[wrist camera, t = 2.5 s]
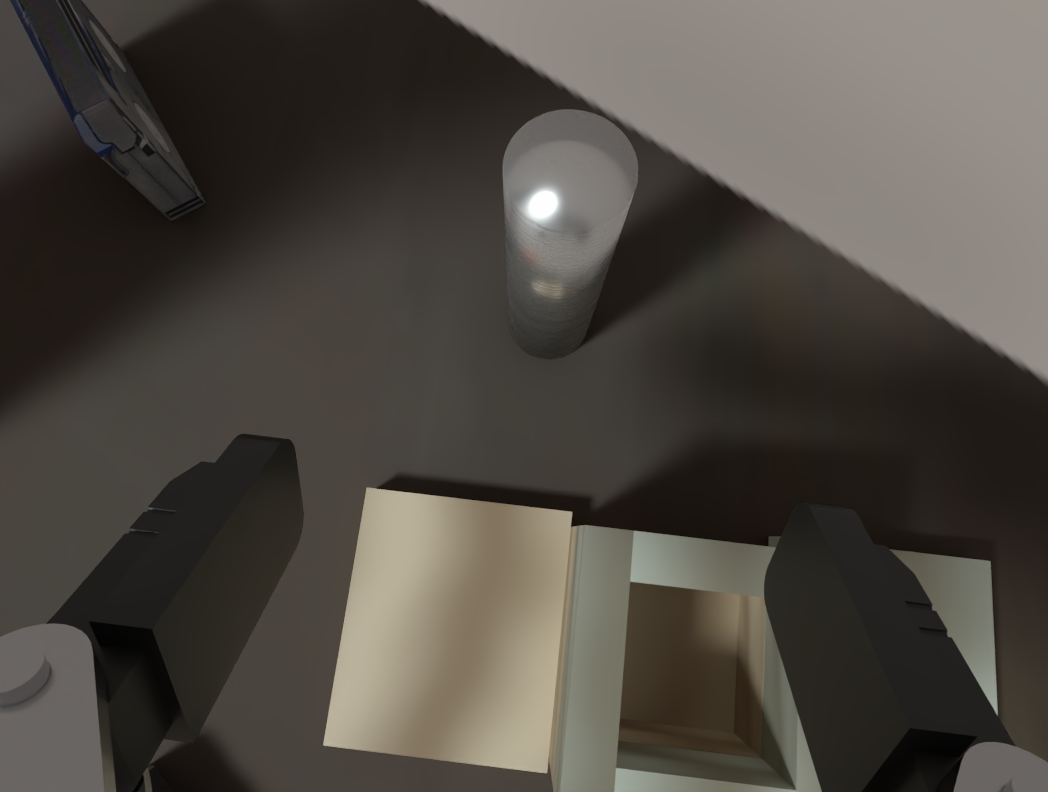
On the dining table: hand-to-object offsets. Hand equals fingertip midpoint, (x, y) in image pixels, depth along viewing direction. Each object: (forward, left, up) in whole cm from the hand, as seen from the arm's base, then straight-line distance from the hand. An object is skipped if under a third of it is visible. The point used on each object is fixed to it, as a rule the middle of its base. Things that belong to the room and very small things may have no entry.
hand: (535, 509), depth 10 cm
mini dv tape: (-17, +14, -12) cm, 25 cm away
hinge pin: (0, +8, -12) cm, 14 cm away
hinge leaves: (+5, -3, -12) cm, 13 cm away
